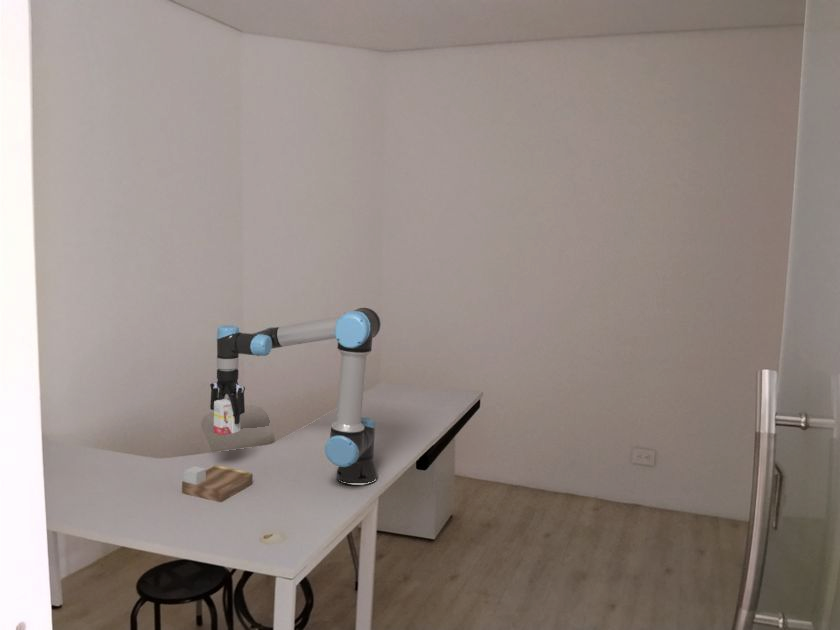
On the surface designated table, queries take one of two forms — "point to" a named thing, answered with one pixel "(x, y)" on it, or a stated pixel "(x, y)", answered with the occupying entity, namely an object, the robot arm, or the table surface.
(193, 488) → the dock
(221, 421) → the ink box
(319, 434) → the table surface
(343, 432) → the robot arm
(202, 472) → the light grey block
